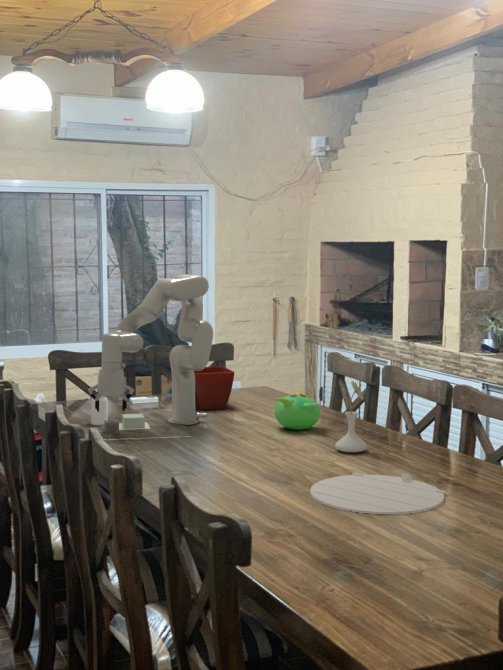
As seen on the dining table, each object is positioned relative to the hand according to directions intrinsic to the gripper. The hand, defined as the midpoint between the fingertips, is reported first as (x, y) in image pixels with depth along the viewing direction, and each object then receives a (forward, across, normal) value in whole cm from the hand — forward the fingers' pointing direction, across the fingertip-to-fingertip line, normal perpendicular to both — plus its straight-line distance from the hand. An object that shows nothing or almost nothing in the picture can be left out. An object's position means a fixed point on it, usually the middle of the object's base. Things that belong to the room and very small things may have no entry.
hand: (110, 410), depth 344 cm
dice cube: (+10, -1, -1) cm, 10 cm away
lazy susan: (+9, -71, +96) cm, 119 cm away
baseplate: (+9, -10, -10) cm, 17 cm away
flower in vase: (+8, -82, +42) cm, 92 cm away
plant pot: (+7, -47, -48) cm, 68 cm away
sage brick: (+8, -10, -10) cm, 16 cm away
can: (+9, +3, -18) cm, 20 cm away
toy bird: (+7, -73, +4) cm, 73 cm away
